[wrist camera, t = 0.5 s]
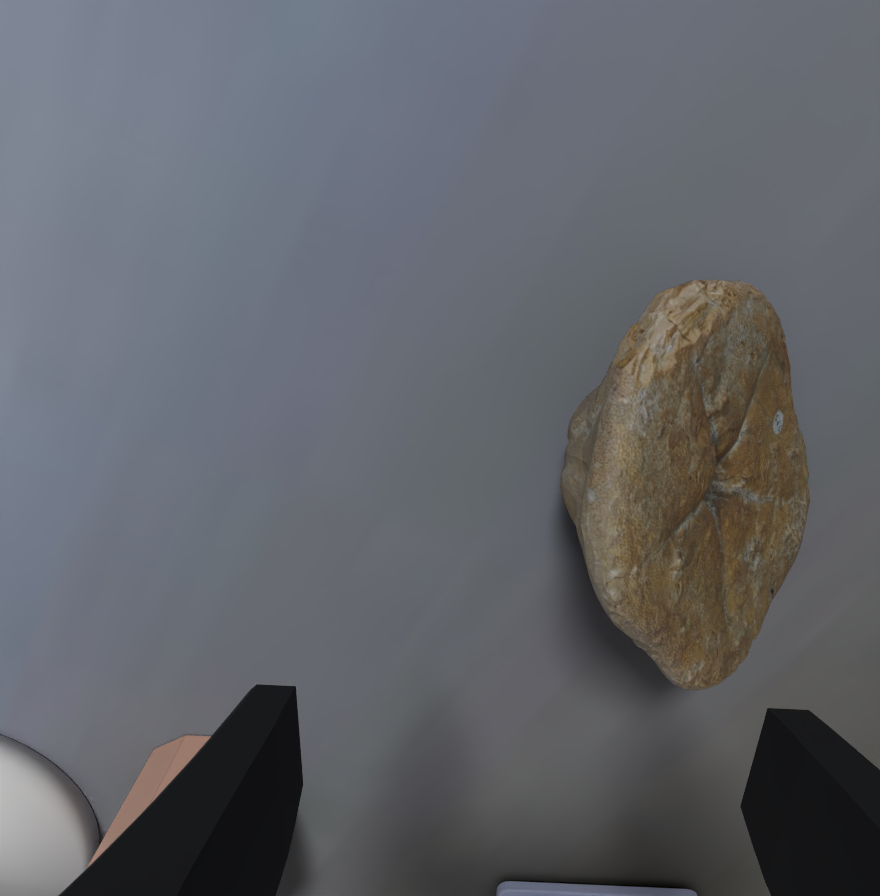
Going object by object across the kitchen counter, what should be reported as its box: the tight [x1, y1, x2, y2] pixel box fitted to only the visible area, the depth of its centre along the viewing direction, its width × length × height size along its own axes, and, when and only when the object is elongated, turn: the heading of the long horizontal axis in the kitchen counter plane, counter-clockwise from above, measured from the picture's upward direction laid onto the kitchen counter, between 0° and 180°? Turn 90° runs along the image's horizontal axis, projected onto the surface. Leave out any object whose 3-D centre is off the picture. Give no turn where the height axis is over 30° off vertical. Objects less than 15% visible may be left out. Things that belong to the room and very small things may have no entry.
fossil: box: [560, 280, 810, 690], centre depth 16 cm, size 9×4×10 cm
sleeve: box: [87, 735, 211, 868], centre depth 22 cm, size 6×6×4 cm
